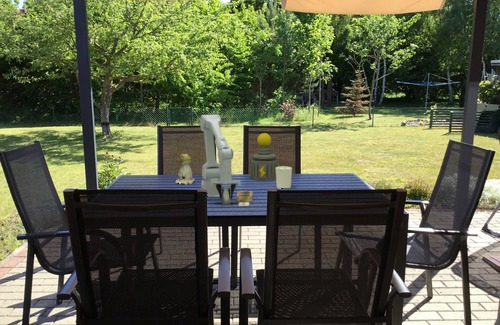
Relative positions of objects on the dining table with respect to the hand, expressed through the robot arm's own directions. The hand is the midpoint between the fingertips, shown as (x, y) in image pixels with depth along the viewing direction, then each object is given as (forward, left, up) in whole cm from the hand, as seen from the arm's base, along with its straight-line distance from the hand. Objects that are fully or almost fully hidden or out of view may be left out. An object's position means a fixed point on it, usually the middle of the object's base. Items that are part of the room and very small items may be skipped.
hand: (226, 198), depth 210 cm
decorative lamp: (+20, +67, -3) cm, 70 cm away
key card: (+9, -2, -2) cm, 10 cm away
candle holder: (+31, +37, -3) cm, 48 cm away
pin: (0, 0, -2) cm, 2 cm away
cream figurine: (-31, +54, -3) cm, 62 cm away
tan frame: (+9, +10, -2) cm, 14 cm away
